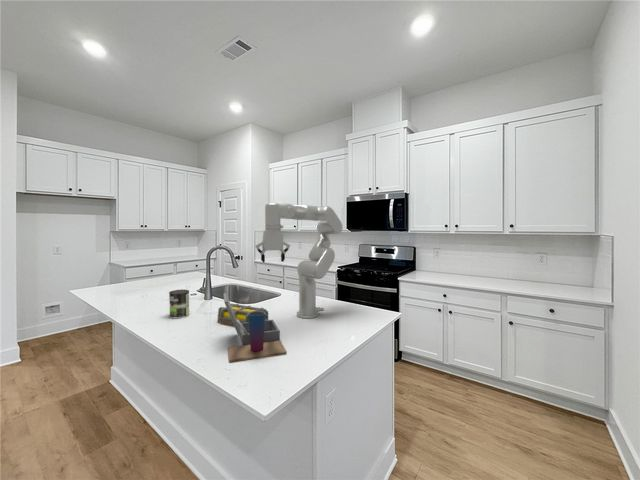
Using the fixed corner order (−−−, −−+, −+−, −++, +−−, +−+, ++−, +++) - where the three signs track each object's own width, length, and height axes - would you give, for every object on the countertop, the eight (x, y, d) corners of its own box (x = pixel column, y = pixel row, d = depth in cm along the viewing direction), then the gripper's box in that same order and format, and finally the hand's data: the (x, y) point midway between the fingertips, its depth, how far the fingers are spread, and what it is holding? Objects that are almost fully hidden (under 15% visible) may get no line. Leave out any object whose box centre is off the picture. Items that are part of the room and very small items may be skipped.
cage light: (231, 301, 166) (273, 308, 153) (231, 315, 166) (274, 322, 153) (211, 307, 153) (256, 315, 140) (211, 322, 153) (256, 332, 140)
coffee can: (179, 319, 157) (178, 294, 156) (165, 317, 161) (164, 292, 160) (193, 314, 167) (193, 290, 166) (180, 312, 170) (180, 288, 170)
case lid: (225, 292, 134) (223, 293, 134) (227, 301, 119) (224, 302, 119) (238, 322, 137) (235, 324, 137) (241, 335, 122) (238, 336, 122)
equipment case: (272, 329, 143) (272, 305, 142) (279, 341, 128) (279, 315, 127) (234, 334, 136) (234, 309, 136) (236, 347, 121) (236, 319, 121)
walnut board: (280, 342, 127) (280, 340, 127) (286, 354, 116) (286, 351, 115) (227, 349, 119) (227, 347, 119) (229, 362, 108) (229, 360, 108)
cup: (249, 346, 121) (249, 310, 120) (266, 345, 121) (266, 310, 120) (247, 353, 114) (246, 316, 113) (264, 352, 114) (264, 315, 114)
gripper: (288, 227, 151) (288, 260, 152) (254, 227, 145) (254, 261, 146) (291, 228, 144) (291, 262, 145) (256, 228, 138) (256, 263, 139)
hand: (273, 261), depth 145 cm, fingers open, 9 cm apart
